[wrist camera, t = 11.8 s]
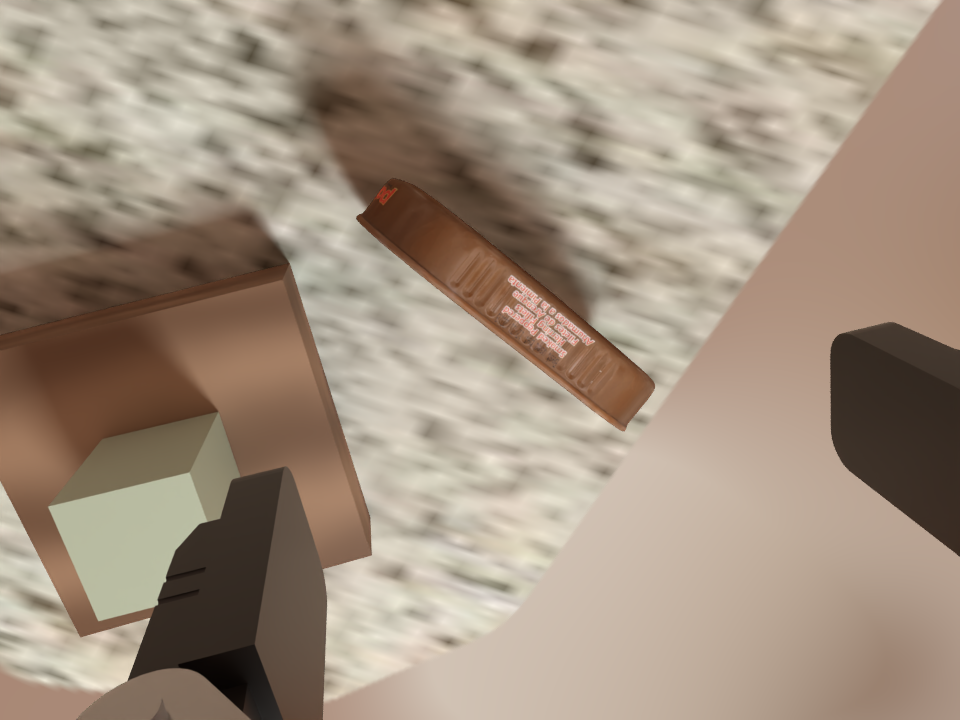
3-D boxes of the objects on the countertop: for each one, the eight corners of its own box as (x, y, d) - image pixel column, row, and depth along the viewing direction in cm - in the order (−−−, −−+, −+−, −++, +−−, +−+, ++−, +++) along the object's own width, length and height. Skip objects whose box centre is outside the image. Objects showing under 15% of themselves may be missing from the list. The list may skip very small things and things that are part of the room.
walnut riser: (-14, 336, 34) (-59, 365, 30) (290, 260, 35) (282, 279, 31) (106, 585, 39) (80, 637, 35) (370, 512, 40) (371, 555, 36)
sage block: (102, 439, 32) (48, 506, 27) (218, 411, 33) (189, 472, 27) (141, 537, 34) (98, 621, 28) (251, 510, 34) (231, 587, 29)
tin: (351, 210, 34) (350, 242, 26) (394, 155, 34) (406, 171, 26) (584, 394, 39) (642, 468, 31) (624, 349, 39) (693, 411, 31)
